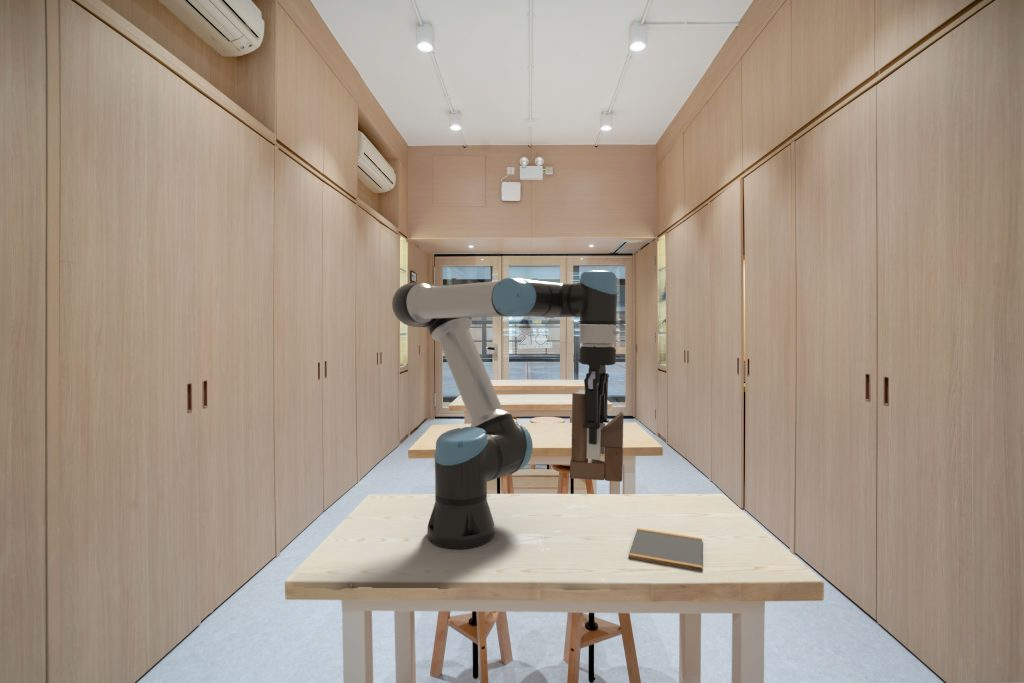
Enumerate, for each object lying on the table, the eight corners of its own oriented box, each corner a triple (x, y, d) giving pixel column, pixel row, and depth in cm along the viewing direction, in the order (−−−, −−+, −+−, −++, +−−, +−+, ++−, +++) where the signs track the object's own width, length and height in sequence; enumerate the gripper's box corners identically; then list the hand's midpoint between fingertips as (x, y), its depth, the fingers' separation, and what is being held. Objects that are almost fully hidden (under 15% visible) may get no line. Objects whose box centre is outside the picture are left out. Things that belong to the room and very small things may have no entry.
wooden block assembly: (622, 482, 100) (624, 395, 99) (569, 479, 102) (571, 393, 101) (621, 476, 104) (622, 392, 103) (570, 473, 105) (571, 391, 105)
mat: (628, 557, 100) (628, 554, 100) (637, 531, 113) (637, 528, 113) (701, 570, 94) (701, 567, 94) (702, 541, 107) (702, 538, 107)
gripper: (608, 347, 92) (605, 469, 93) (622, 344, 108) (620, 448, 109) (569, 346, 95) (567, 464, 96) (589, 343, 111) (587, 444, 112)
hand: (595, 455), depth 103 cm, fingers closed on wooden block assembly, 4 cm apart
